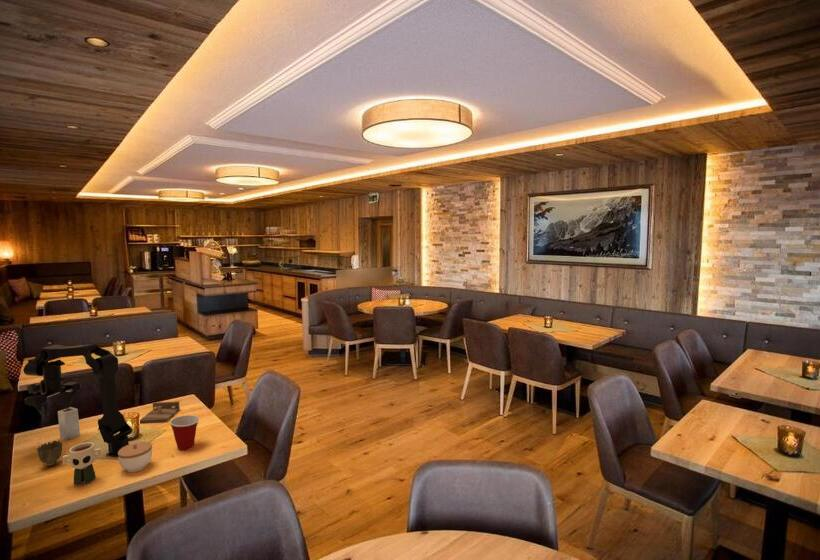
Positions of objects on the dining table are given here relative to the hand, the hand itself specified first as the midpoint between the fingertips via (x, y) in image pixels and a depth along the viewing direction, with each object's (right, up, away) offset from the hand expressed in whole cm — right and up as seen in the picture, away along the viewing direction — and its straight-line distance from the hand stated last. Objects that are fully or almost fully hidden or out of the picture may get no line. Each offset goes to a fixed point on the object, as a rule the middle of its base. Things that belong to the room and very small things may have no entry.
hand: (56, 413), depth 172 cm
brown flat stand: (+24, -11, +31) cm, 41 cm away
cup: (+8, -16, -12) cm, 22 cm away
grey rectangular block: (-3, -14, +11) cm, 18 cm away
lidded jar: (+42, -16, -14) cm, 48 cm away
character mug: (+30, -17, -23) cm, 41 cm away
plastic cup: (+53, -15, +1) cm, 55 cm away
